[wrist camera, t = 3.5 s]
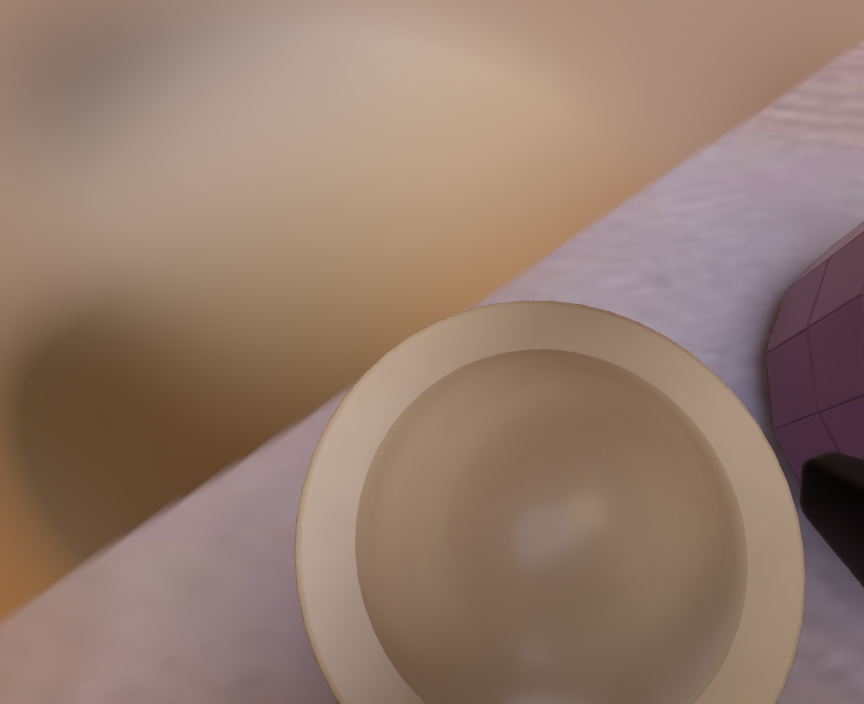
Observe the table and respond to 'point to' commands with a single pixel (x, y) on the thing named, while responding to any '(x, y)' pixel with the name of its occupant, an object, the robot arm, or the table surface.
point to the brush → (547, 523)
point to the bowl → (821, 357)
